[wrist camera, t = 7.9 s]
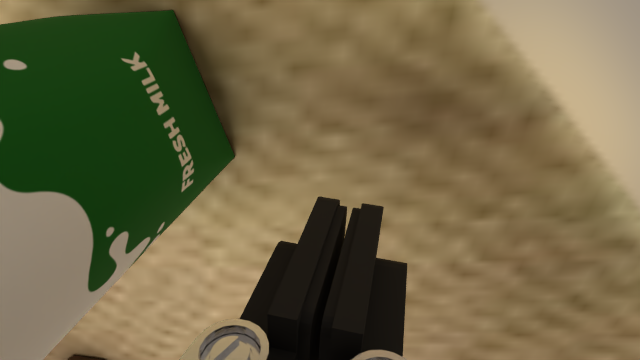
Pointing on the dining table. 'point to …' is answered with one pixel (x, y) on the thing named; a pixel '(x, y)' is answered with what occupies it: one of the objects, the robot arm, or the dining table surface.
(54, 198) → the soya milk
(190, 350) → the robot arm
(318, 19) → the dining table surface
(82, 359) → the beer bottle
